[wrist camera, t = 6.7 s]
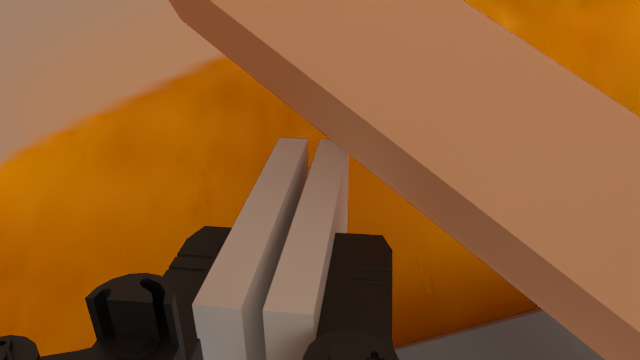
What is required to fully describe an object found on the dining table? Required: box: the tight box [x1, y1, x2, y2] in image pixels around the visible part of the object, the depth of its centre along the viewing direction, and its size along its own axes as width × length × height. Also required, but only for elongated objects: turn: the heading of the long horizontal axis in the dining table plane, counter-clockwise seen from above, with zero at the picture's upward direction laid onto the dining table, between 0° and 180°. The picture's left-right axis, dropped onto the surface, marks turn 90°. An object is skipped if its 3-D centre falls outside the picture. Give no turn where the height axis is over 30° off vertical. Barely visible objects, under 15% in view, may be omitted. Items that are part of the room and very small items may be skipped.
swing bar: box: [169, 0, 640, 360], centre depth 9 cm, size 23×4×3 cm, turn 48°
